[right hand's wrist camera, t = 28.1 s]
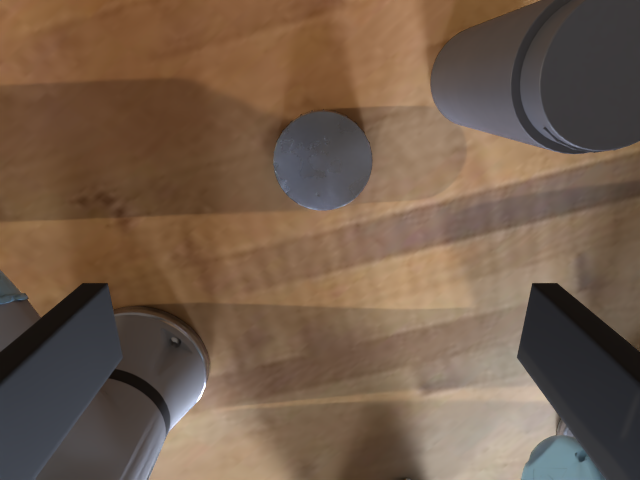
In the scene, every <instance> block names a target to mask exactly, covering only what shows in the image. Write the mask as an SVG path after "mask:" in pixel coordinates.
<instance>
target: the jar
mask: <svg viewBox="0 0 640 480" xmlns="http://www.w3.org/2000/svg"><path fill="white" fill-rule="evenodd" d="M431 92H432V97H433V99H434V102H435V104H436V106H437V108H438V109H439V111H440V112H441V113H442V114H443V115H444V116H445V117H446V118H447V119H449V120H450V121H452V122H454V123H456V124H459V125H462V126H465V127H469V128H472V129H476V130H480V131H483V132H487V133H490V134H494V135H498V136H501V137H505V138H508V139H512V140H516V141H519V142H523V143H526V144H530V145H534V146H537V147H541V148H544V149H548V150H552V151H555V152H560V153H566V154H582V153H589V152H593V153H595V152H602V151H610V150H617V149H620V148H623V147H626V146H629V145H632V144H634V143H636V142H638V141H640V0H540V1H538V2H535V3H533V4H530V5H528V6H525V7H522V8H520V9H517V10H515V11H512V12H510V13H507V14H504V15H502V16H499V17H497V18H494V19H492V20H489V21H486V22H484V23H481V24H479V25H476V26H473V27H471V28H468V29H466V30H464V31H462V32H460V33H458V34H457V35H455V36H454V37H453V38H452V39H450V40H449V41H448V42H447V43H446V45H445V46H444V47H443V48H442V50H441V51H440V53H439V54H438V56H437V58H436V60H435V63H434V65H433V69H432V74H431Z"/></svg>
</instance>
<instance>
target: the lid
mask: <svg viewBox="0 0 640 480" xmlns="http://www.w3.org/2000/svg"><path fill="white" fill-rule="evenodd" d="M282 132H283V133H282V134H281V136H280V137H279V139H278V140H277V144H276V147H275V151H274V163H273V165H274V171H275V175H276V178H277V180H278V183H279V185H280V186H281V188H282V189H283V191H284V192H285V193H286V194H287V195H288V196H289V197H290V198H291V199H292V200H293V201H295V202H296V203H298V204H300V205H301V206H304V207H306V208H310V209H314V210H332V209H336V208H339V207H342V206H344V205H346V204H348V203H349V202H351V201H352V200H354V199H355V198H356V197H357V196H358V195H359V194H360V193H361V191H362V190H363V189H364V187H365V186H366V184H367V182H368V180H369V177H370V174H371V169H372V153H371V148H370V145H369V141H368V140H367V138H366V136H365V134H364V131H363V130H361V129H360V128H359V127H358V126H357V123H356V122H355V121H354V122H353V121H352V120H351V119H350V118H348V117H347V116H346V115H343V114H340V113H338V112H336V111H329V110H324V109H323V110H316V111H313V110H312V111H311V112H308V113H305V114H303V115H302V114H301V115H300V116H299V117H297V118H296V119H295V120H293V121H291V122H290V124H289V125H288V126H287V127H286V129H284V130H283V131H282Z"/></svg>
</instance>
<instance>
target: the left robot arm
mask: <svg viewBox="0 0 640 480" xmlns="http://www.w3.org/2000/svg"><path fill="white" fill-rule="evenodd" d="M521 480H606V479H605V478H604V477H603V475H602V474H601V473H600V471H599V470H598V468H597V467H596V466H595V464H594V463H593V462H592V460H591V459H590V457H589V456H588V455H587V453H586V452H585V451H584V449H583V448H582V446H581V445H580V444H579V442H578V441H577V440H576V438H575V437H574V435H573V434H572V433H571V431H570V430H569V429H568V427H567V426H566V424H565V423H564V422H563V420H562V419H560V421H559V424H558V428H557V435H555V436H551V437H549V438H547V439H545V440H543V441H542V442H540V443H539V444H538V445H537V446H536V447H535V448H534V450H533V451H532V452H531V455H530V458H529V461H528V462H527V463H526V464H525V467H524V470H523V473H522V478H521Z"/></svg>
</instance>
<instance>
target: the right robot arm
mask: <svg viewBox="0 0 640 480" xmlns="http://www.w3.org/2000/svg"><path fill="white" fill-rule="evenodd" d="M27 299H28V297H27V295H26V294H25V293H21V292H20V291H19V290H18V289H17V287H16V286H15V285H14V284H13V283H12V282H11V281H10V280H9V279H8V278H7V277H6V275H5V274H4V273H3V272H2V271H1V270H0V480H148V479H149V477H150V475H151V472H152V470H153V467H154V465H155V463H156V460H157V458H158V455H159V453H160V451H161V448H162V446H163V443H164V441H165V439H166V436H167V434H168V432H169V431H170V429H171V428H172V427H173V426H174V425H175V424H176V423H177V422H178V421H179V420H180V419H181V418H182V417H183V416H184V415H185V414H186V413H187V411H188V410H190V409H191V408H192V407H193V406H194V405H195V404H196V402H197V401H198V400H199V398H200V397H201V395H202V393H203V390H204V388H205V385H206V382H207V380H208V376H209V370H210V363H209V357H208V353H207V350H206V348H205V346H204V344H203V342H202V340H201V339H200V337H199V336H198V335H197V334H196V332H195V331H194V330H193V329H192V328H191V327H190V326H188V325H187V324H186V323H185V322H183V321H182V320H180V319H179V318H177V317H175V316H173V315H172V314H169V313H167V312H164V311H162V310H158V309H154V308H150V307H141V306H131V307H123V308H118V309H115V310H113V307H112V302H111V297H110V292H109V288H108V283H83V284H81V285H80V286H79V287H78V288H77V289H75V290H74V291H73V292H72V293H71V294H69V295H68V296H67V297H66V298H65V299H63V300H62V301H61V302H60V303H59V304H57V305H56V306H55V307H54V308H53V309H51V310H50V311H49V312H48V313H47V314H45V315H44V316H43V317H42V318H41V317H40V316H39V314H38V313H37V312H36V311H35V309H34V308H33V307H32V305H31V304H30V303H29V301H28V300H27ZM517 358H518V360H519V361H520V362H521V364H522V365H523V366H524V368H525V369H526V371H527V372H528V373H529V375H530V376H531V378H532V379H533V380H534V382H535V383H536V384H537V386H538V387H539V389H540V390H541V391H542V393H543V394H544V395H545V397H546V398H547V400H548V401H549V402H550V404H551V405H552V406H553V408H554V409H555V411H556V412H557V413H558V415H559V416H560V417H561V419H562V420H563V422H564V423H565V424H566V426H567V427H568V429H569V430H570V431H571V433H572V434H573V435H574V437H575V438H576V440H577V441H578V442H579V444H580V445H581V446H582V448H583V449H584V451H585V452H586V453H587V455H588V456H589V457H590V459H591V460H592V462H593V463H594V464H595V466H596V467H597V468H598V470H599V471H600V473H601V474H602V475H603V477H604V478H605V479H606V480H640V352H639V351H638V350H637V349H636V348H634V347H633V346H632V345H631V344H630V343H628V342H627V341H626V340H625V339H624V338H622V337H621V336H620V335H619V334H618V333H616V332H615V331H614V330H613V329H612V328H610V327H609V326H608V325H607V324H606V323H604V322H603V321H602V320H601V319H599V318H598V317H597V316H596V315H595V314H593V313H592V312H591V311H590V310H589V309H587V308H586V307H585V306H584V305H583V304H581V303H580V302H579V301H578V300H577V299H575V298H574V297H573V296H572V295H571V294H569V293H568V292H567V291H566V290H565V289H563V288H562V287H561V286H560V285H559V284H557V283H532V288H531V292H530V297H529V302H528V307H527V312H526V317H525V321H524V326H523V331H522V336H521V341H520V346H519V350H518V355H517Z"/></svg>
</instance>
